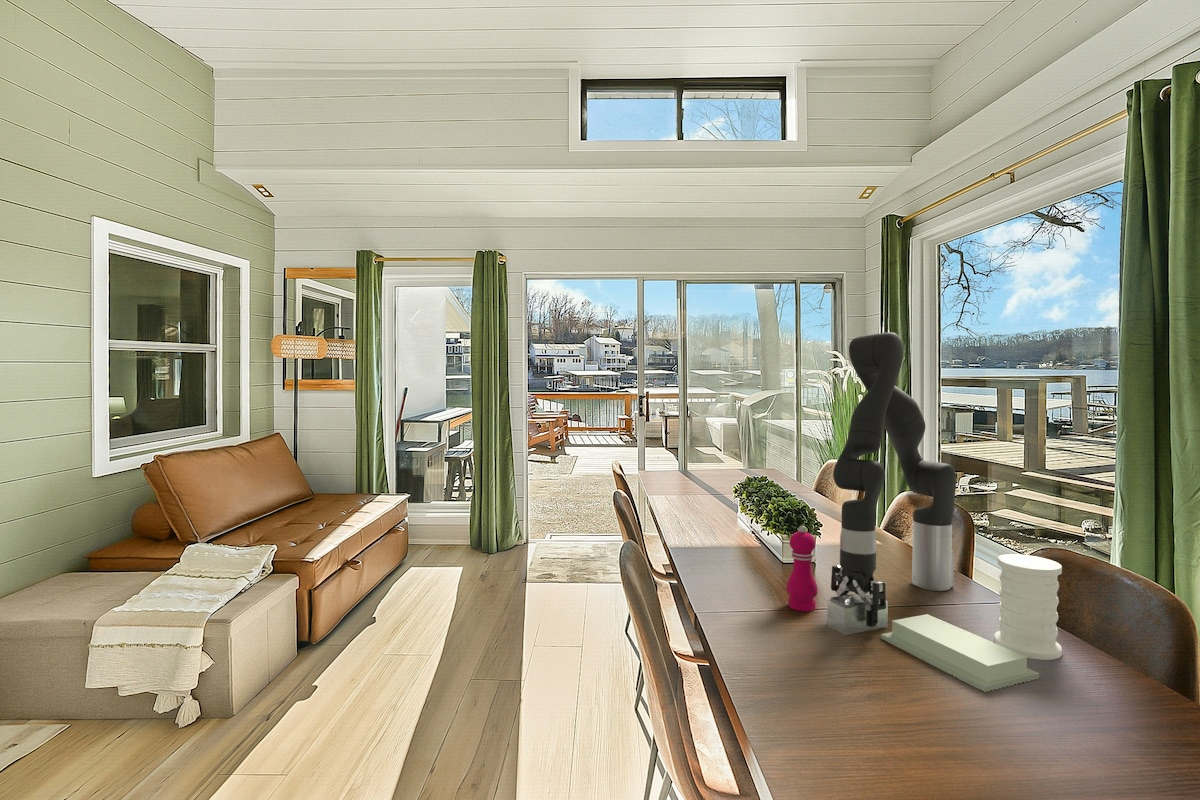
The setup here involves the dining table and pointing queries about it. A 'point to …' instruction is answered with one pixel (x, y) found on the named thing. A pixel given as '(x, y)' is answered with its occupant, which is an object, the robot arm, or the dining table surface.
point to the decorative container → (1029, 606)
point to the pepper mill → (802, 572)
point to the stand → (960, 652)
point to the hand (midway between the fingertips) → (856, 618)
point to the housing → (852, 614)
